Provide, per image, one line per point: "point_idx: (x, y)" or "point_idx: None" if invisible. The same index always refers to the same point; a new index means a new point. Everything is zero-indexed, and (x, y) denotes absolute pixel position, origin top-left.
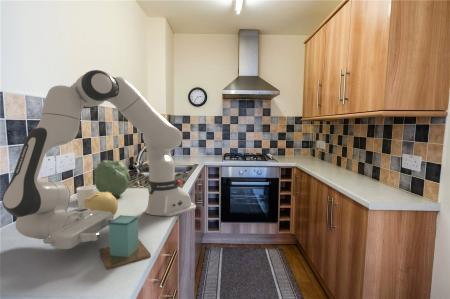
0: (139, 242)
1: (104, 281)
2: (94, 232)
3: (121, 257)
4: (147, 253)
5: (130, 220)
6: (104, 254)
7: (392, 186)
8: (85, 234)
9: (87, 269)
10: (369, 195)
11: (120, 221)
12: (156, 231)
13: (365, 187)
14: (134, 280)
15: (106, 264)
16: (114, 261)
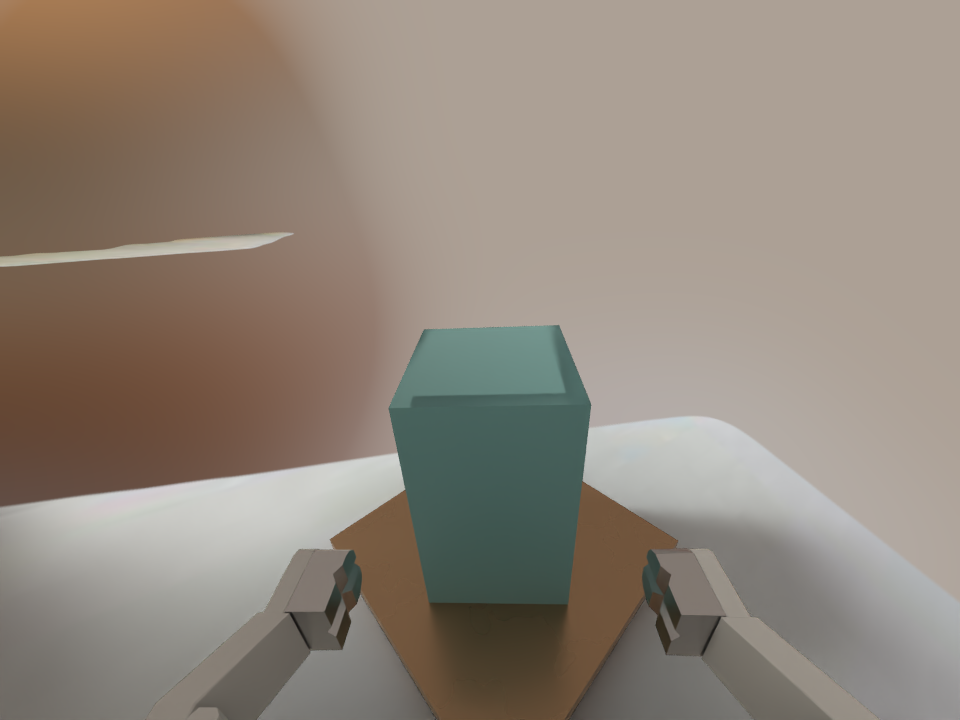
0: (382, 514)
1: (743, 507)
2: (680, 607)
3: None
4: None
5: (500, 331)
6: (576, 658)
7: (193, 238)
8: (825, 683)
9: None
10: (218, 247)
11: (536, 358)
12: (206, 512)
13: (170, 247)
14: (657, 425)
15: None
16: (615, 533)
